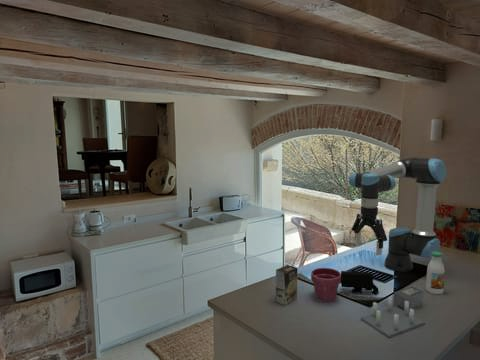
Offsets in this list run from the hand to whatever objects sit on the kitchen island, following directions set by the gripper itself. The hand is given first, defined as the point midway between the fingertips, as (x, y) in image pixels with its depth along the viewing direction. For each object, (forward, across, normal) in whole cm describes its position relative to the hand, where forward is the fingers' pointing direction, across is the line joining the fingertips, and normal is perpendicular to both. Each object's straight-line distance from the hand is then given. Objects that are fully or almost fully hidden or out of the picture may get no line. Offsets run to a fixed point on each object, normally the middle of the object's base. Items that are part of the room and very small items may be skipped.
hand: (368, 250), depth 165 cm
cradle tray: (+24, +21, -6) cm, 32 cm away
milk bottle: (+24, +10, +35) cm, 44 cm away
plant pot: (+24, -9, -17) cm, 31 cm away
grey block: (+24, +14, +11) cm, 30 cm away
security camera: (+24, -6, +1) cm, 25 cm away
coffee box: (+24, -15, -36) cm, 46 cm away
